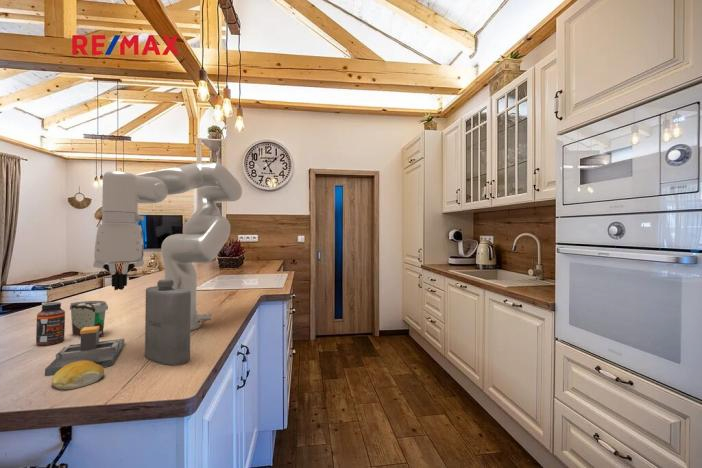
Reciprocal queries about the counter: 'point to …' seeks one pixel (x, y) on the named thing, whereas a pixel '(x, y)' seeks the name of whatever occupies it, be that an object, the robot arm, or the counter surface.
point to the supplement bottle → (50, 324)
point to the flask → (167, 324)
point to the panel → (87, 355)
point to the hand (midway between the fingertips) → (119, 289)
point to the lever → (90, 337)
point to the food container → (87, 315)
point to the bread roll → (77, 375)
